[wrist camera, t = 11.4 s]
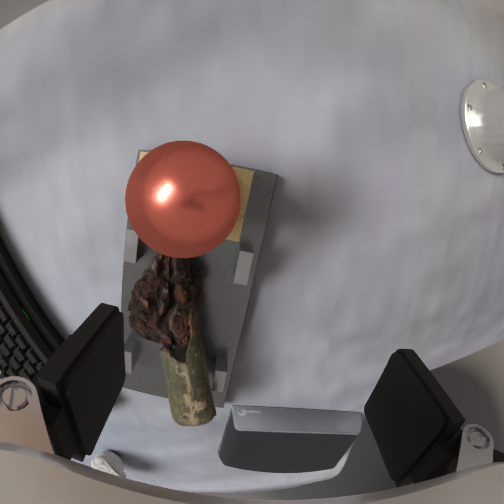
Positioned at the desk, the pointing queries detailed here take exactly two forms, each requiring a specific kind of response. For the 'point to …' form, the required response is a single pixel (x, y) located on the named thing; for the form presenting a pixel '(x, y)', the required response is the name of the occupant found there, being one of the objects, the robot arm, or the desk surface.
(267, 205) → the stand
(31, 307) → the keyboard
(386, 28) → the desk surface
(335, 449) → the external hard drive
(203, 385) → the morel mushroom
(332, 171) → the desk surface
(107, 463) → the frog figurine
